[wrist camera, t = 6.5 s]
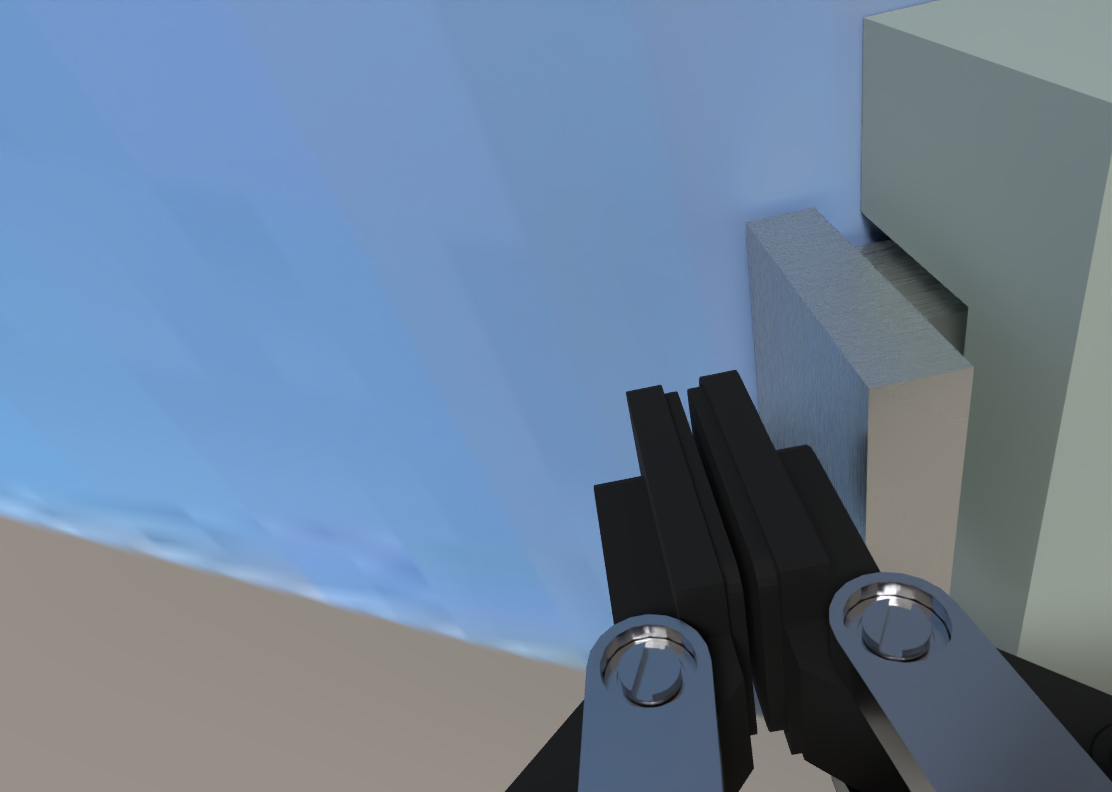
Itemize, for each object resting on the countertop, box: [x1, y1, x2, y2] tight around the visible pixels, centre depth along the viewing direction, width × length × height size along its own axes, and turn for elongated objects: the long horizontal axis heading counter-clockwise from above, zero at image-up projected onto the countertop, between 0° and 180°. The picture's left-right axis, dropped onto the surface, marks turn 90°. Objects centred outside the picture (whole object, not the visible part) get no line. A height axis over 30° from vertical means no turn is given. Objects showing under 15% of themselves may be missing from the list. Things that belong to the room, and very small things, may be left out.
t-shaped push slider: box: [746, 207, 974, 595], centre depth 12 cm, size 8×4×5 cm, turn 102°
